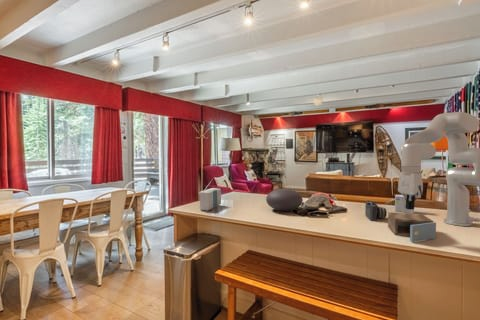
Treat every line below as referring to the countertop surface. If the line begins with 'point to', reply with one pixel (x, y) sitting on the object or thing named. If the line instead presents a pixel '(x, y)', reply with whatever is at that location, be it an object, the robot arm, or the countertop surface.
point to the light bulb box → (401, 204)
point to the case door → (422, 231)
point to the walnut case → (405, 222)
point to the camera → (374, 211)
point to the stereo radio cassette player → (210, 198)
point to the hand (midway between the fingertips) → (409, 208)
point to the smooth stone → (284, 199)
